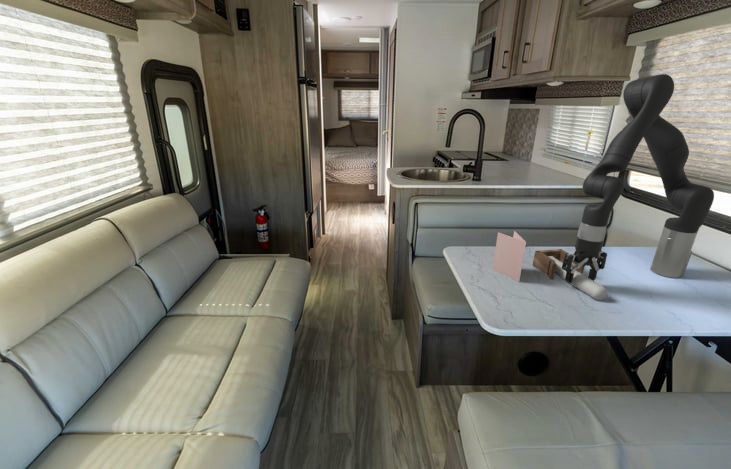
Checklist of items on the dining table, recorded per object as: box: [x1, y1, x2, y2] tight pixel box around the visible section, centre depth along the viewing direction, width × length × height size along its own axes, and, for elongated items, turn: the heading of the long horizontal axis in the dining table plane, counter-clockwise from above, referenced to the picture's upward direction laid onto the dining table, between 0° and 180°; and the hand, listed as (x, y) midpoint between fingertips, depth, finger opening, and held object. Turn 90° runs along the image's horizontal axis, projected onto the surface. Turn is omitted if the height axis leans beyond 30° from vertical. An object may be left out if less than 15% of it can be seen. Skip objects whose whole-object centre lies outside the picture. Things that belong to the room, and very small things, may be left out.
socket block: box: [532, 248, 586, 281], centre depth 132 cm, size 13×12×6 cm
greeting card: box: [492, 230, 528, 283], centre depth 127 cm, size 11×7×15 cm, turn 178°
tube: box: [548, 256, 608, 301], centre depth 123 cm, size 5×5×25 cm
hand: (579, 280), depth 121 cm, fingers open, 8 cm apart
